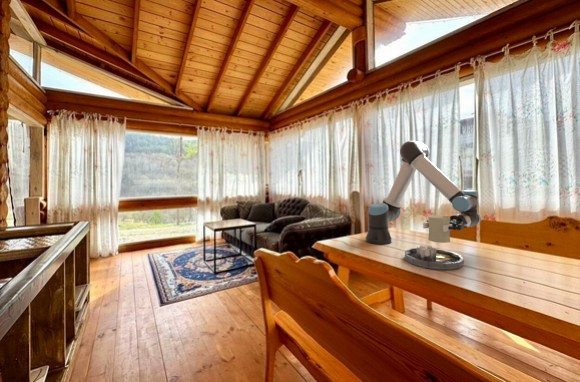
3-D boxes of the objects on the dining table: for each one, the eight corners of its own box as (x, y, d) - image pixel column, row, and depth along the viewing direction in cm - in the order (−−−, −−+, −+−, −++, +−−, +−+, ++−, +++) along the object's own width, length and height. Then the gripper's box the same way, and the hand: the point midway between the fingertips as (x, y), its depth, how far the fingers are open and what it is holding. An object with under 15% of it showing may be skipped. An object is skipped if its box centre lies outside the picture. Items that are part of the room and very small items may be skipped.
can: (449, 243, 118) (449, 217, 118) (426, 241, 124) (426, 216, 123) (451, 239, 126) (451, 215, 125) (430, 237, 131) (429, 213, 131)
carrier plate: (395, 255, 133) (395, 241, 133) (437, 252, 137) (437, 238, 136) (426, 272, 110) (426, 255, 109) (476, 267, 113) (476, 251, 113)
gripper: (482, 232, 124) (457, 239, 113) (438, 225, 143) (412, 231, 132) (482, 216, 124) (457, 222, 113) (438, 212, 143) (412, 216, 131)
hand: (433, 227), depth 122 cm, fingers closed on can, 9 cm apart
